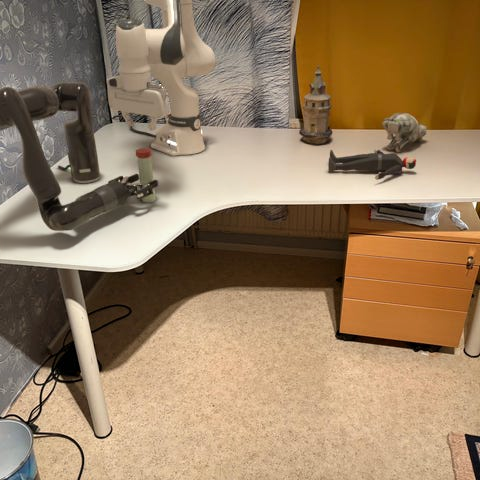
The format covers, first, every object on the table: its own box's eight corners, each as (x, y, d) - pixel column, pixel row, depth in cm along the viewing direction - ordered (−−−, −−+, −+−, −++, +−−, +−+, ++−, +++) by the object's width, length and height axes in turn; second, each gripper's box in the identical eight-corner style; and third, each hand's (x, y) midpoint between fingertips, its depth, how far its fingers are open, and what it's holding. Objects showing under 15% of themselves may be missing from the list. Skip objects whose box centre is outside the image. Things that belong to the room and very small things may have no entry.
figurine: (412, 164, 205) (438, 136, 214) (399, 121, 196) (426, 94, 205) (390, 163, 212) (416, 137, 221) (377, 122, 203) (404, 96, 212)
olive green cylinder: (142, 203, 170) (137, 154, 162) (141, 197, 174) (135, 150, 166) (156, 201, 171) (151, 153, 163) (154, 196, 175) (149, 148, 167)
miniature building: (320, 132, 228) (325, 59, 214) (338, 142, 217) (344, 66, 203) (293, 137, 224) (296, 63, 209) (310, 147, 213) (314, 69, 198)
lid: (136, 158, 163) (136, 153, 162) (135, 153, 167) (134, 148, 166) (152, 157, 164) (152, 152, 163) (150, 151, 168) (150, 147, 167)
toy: (331, 141, 202) (414, 142, 196) (330, 157, 205) (412, 158, 199) (326, 167, 180) (420, 168, 174) (326, 184, 183) (418, 186, 177)
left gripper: (123, 191, 153) (162, 173, 164) (90, 180, 160) (130, 163, 171) (126, 214, 156) (164, 195, 168) (94, 202, 164) (133, 185, 175)
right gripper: (171, 82, 152) (175, 129, 159) (116, 75, 161) (122, 120, 168) (158, 87, 147) (162, 135, 154) (102, 79, 156) (108, 125, 163)
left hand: (147, 179), depth 170 cm, fingers open, 8 cm apart
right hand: (141, 127), depth 161 cm, fingers open, 7 cm apart
